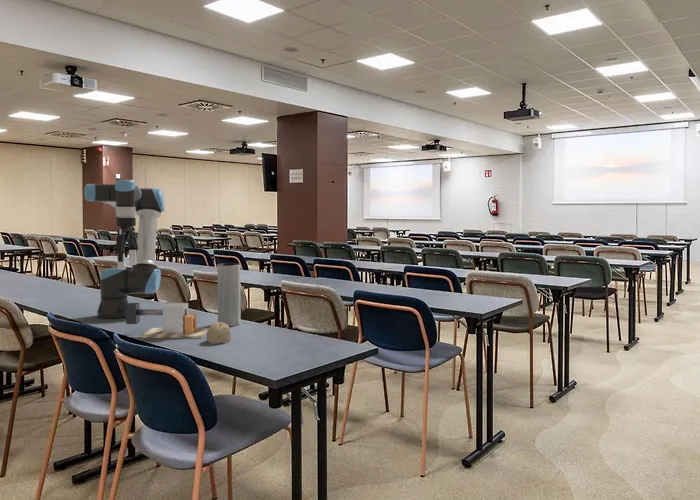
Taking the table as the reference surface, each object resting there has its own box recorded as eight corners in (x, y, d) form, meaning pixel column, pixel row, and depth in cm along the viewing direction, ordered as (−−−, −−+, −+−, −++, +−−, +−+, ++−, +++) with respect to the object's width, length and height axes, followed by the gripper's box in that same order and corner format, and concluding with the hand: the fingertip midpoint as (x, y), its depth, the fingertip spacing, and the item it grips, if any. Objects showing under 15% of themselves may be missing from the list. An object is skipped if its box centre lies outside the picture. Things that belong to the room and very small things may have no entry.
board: (140, 337, 218) (140, 335, 218) (152, 330, 232) (152, 327, 232) (201, 338, 219) (201, 335, 219) (209, 330, 233) (209, 328, 233)
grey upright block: (163, 333, 221) (162, 306, 220) (169, 329, 229) (168, 303, 228) (183, 333, 221) (182, 306, 221) (188, 329, 229) (188, 303, 229)
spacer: (184, 333, 222) (184, 316, 221) (189, 329, 229) (189, 313, 228) (192, 333, 222) (191, 316, 221) (196, 329, 229) (196, 313, 228)
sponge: (231, 351, 214) (238, 328, 219) (220, 342, 206) (228, 318, 211) (210, 349, 217) (218, 326, 222) (199, 340, 209) (207, 316, 214)
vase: (239, 321, 252) (238, 263, 250) (241, 325, 243) (241, 265, 241) (216, 322, 249) (216, 263, 247) (218, 327, 240) (218, 265, 238)
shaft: (126, 324, 222) (125, 304, 222) (130, 321, 227) (129, 302, 226) (180, 324, 223) (180, 304, 222) (183, 322, 227) (183, 303, 227)
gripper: (127, 215, 241) (128, 263, 243) (105, 218, 216) (106, 271, 219) (144, 215, 241) (145, 263, 244) (124, 218, 217) (125, 271, 219)
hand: (127, 267), depth 231 cm, fingers open, 13 cm apart
